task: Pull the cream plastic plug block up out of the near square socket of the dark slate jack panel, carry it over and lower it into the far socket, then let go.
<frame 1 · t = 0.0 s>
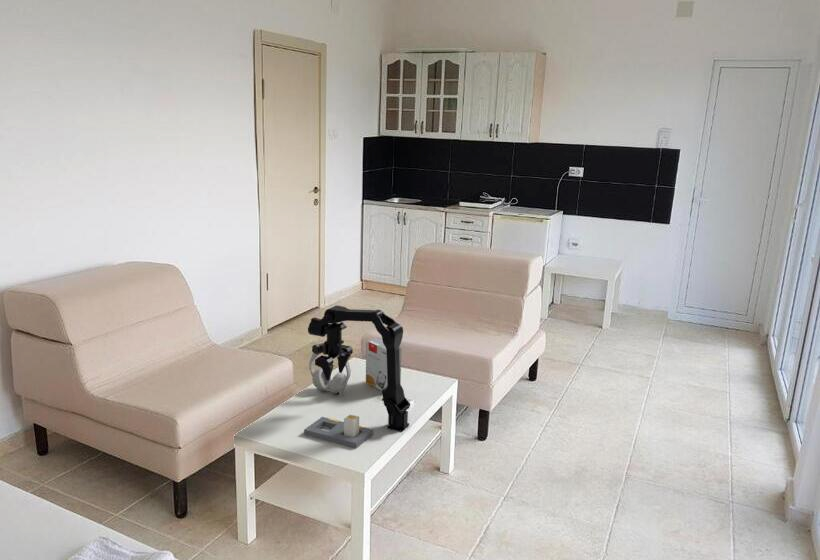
hand: (334, 376, 251), 15 cm above the table, fingers open, 9 cm apart
headphones: (329, 392, 273), on the table
plug: (351, 437, 233), resting in panel
hard drive box: (382, 387, 280), on the table
panel: (338, 434, 236), on the table
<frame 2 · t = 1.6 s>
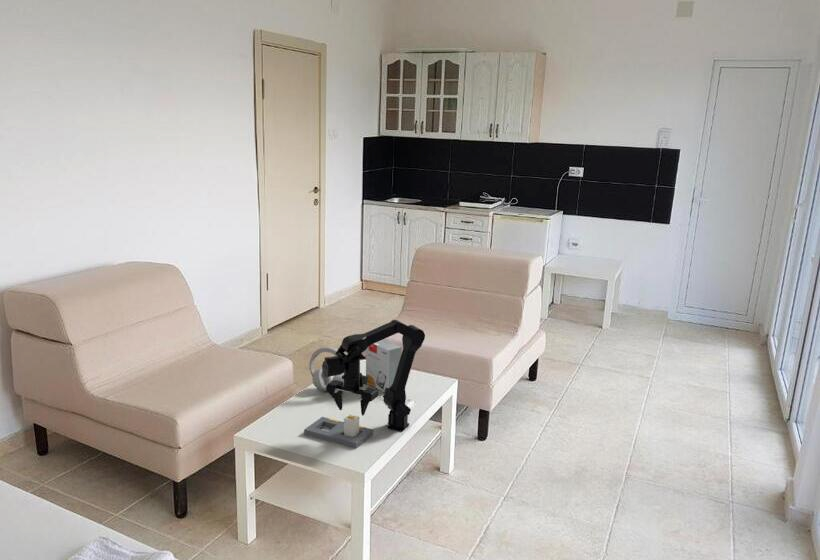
hand: (351, 412, 231), 10 cm above the table, fingers open, 9 cm apart
nothing on the table moved.
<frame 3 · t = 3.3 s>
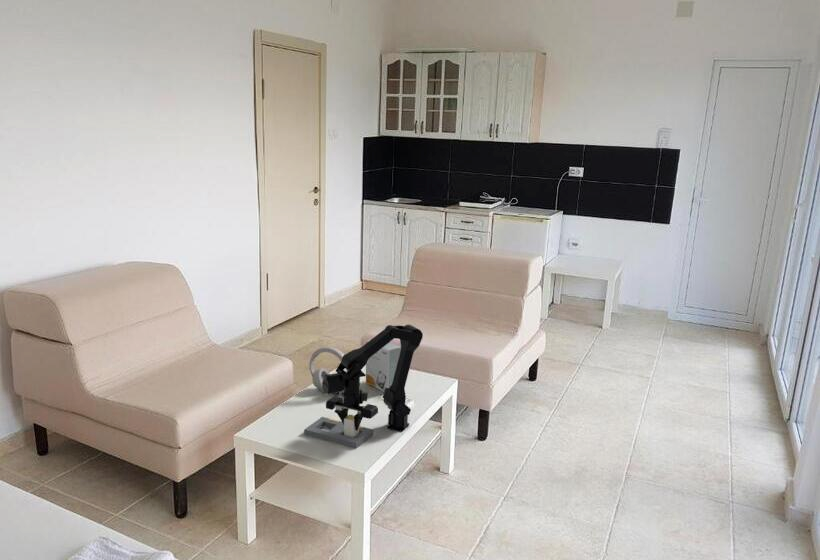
hand: (351, 428, 233), 4 cm above the table, fingers closed on plug, 4 cm apart
plug: (351, 437, 233), resting in panel, touching gripper
everything else where it was.
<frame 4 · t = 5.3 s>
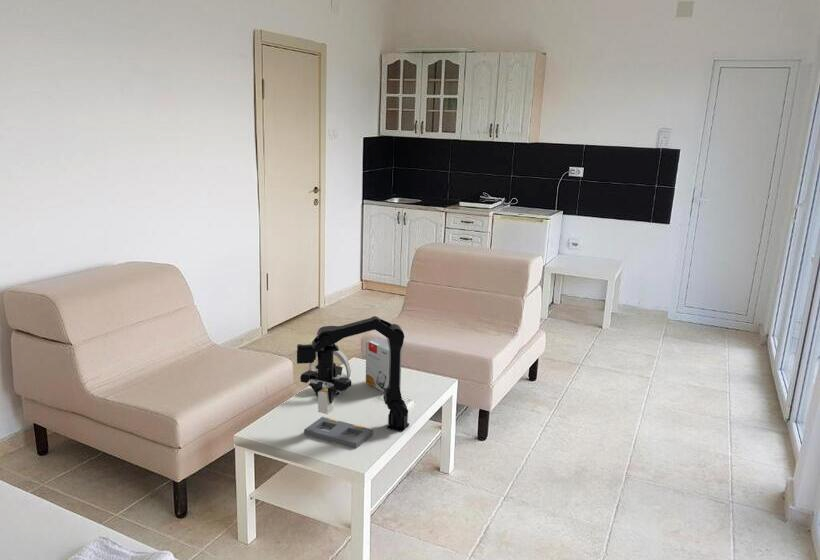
hand: (325, 402, 235), 12 cm above the table, fingers closed on plug, 4 cm apart
plug: (325, 411, 236), point 8 cm above the table, touching gripper
everything else where it was.
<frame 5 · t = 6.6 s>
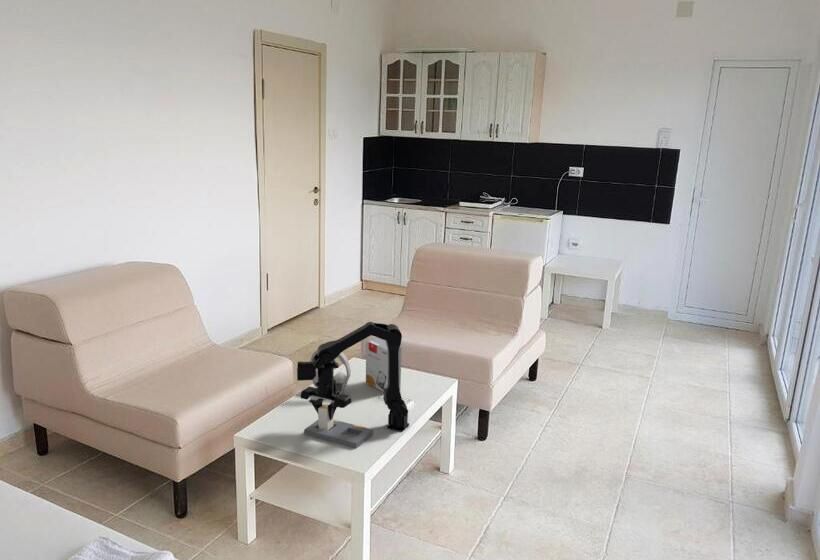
hand: (326, 418, 237), 5 cm above the table, fingers closed on plug, 4 cm apart
plug: (325, 427, 238), point 2 cm above the table, touching gripper
everything else where it was.
when the fingers open (4 cm above the table, at t = 7.5 s): plug stays where it is, resting in panel.
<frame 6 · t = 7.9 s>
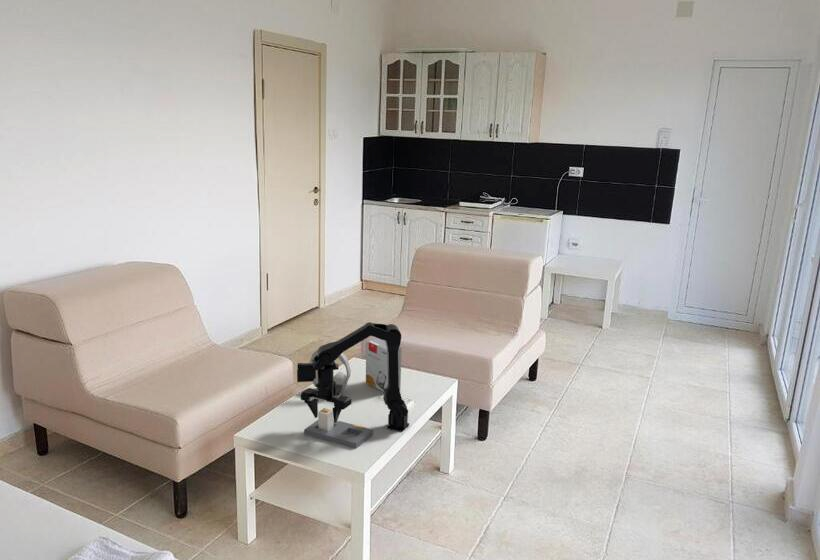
hand: (325, 419, 237), 4 cm above the table, fingers open, 8 cm apart
plug: (325, 431, 238), resting in panel
everything else where it was.
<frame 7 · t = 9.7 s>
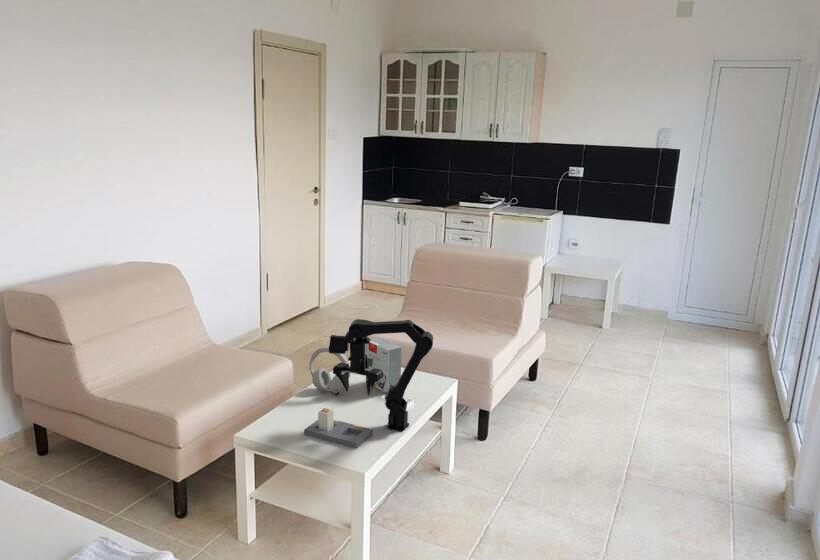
hand: (358, 393, 241), 13 cm above the table, fingers open, 9 cm apart
nothing on the table moved.
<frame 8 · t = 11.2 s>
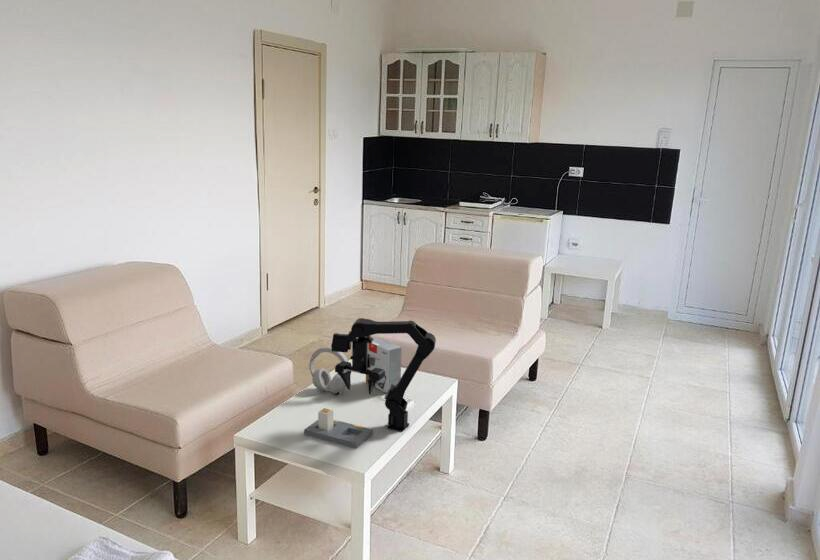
hand: (359, 392, 241), 13 cm above the table, fingers open, 9 cm apart
nothing on the table moved.
at the end: plug 0.1 cm from the target spot on the panel, point 0.0 cm above the panel's base; plug tilted 0°; the gripper is holding nothing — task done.
